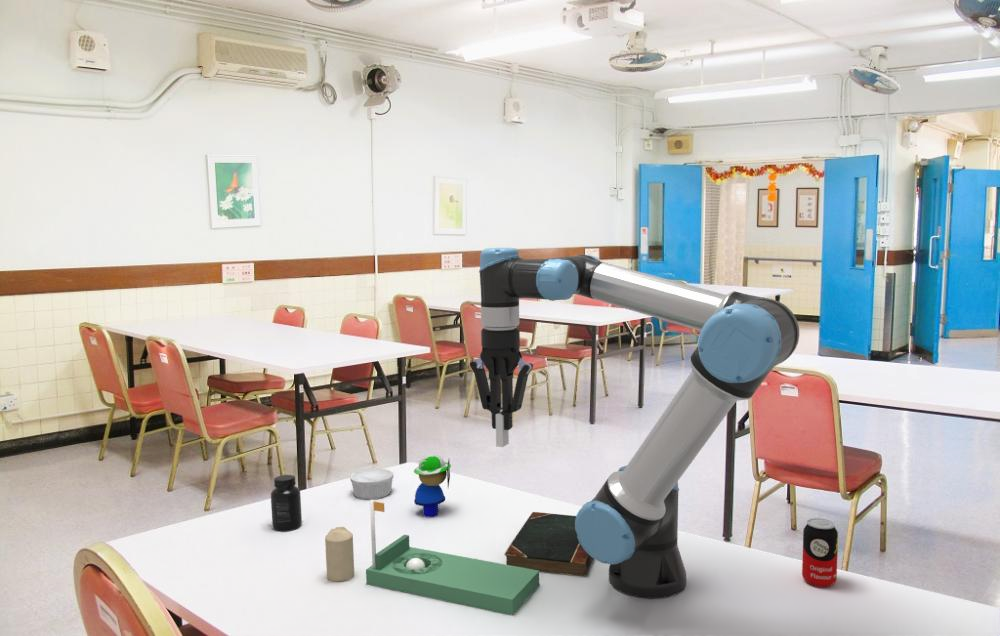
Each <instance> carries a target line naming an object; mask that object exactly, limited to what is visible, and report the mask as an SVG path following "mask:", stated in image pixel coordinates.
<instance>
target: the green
mask: <svg viewBox="0 0 1000 636" xmlns="http://www.w3.org/2000/svg"><path fill="white" fill-rule="evenodd" d="M385 510H386V509H385V503H384V502H380V501H375V499H369V511H370V513H369V514H370V532H371V533H370V535H371V536H370V537H371V555H372V556H371V559H372V561H371V563H372V565H370V566H369V567H367V568H366V569H365V577H366V578H365V580H366V581H365V582H366V585H370V586H375V587H380V588H383V589H387V590H393V591H399V592H403V593H406V594H407V593H408V594H411V595H416V596H422V597H426V598H431V599H435V600H441V601H445V602H450V603H454V604H459V605H465V606H469V607H472V608H476V609H477V608H478V609H482V610H487V611H491V612H497V613H500V614H506V615H511V616H513V615H514V614H515V613H516V612H517V611H518V610H519V609H520V607H522V605H523V604H524V603H525V602H526V601H527V599H528V598H529V597H531V595H532V594H533V593H534V592H535V591H536V590H537V589H538V588H539V586H540V571H538V570H532V569H527V568H522V567H516V566H511V565H506V563H499V562H493V561H489V560H485V559H478V558H471V557H468V556H462V555H455V554H450V553H446V552H445V553H444V552H439V551H433V550H430V549H429V550H428V549H424V548H418V547H413V546H410V534H409V535H408V534H403V535H402V536H400V537H399V538H397V539H396V540H394V541H392V542H391V543H389V544H388V545H387V546H385V547H384V548H383V549H381V550H380V551H378V552H377V544H376V543H377V542H376V540H377V539H376V520H375V519H376V517H375V511H376V512H381V513H385ZM412 558H419V559H421V560H422V561H423V562H424V564H425V568H423V569H415V570H413V569H408V568H406V564H407V562H408V561H409V560H410V559H412Z"/></svg>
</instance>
